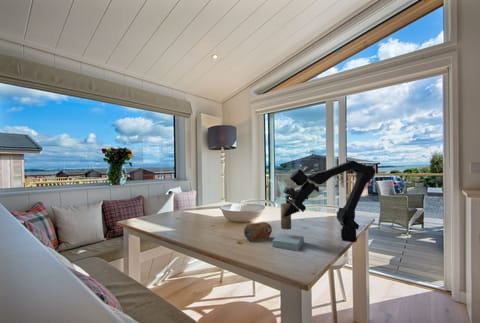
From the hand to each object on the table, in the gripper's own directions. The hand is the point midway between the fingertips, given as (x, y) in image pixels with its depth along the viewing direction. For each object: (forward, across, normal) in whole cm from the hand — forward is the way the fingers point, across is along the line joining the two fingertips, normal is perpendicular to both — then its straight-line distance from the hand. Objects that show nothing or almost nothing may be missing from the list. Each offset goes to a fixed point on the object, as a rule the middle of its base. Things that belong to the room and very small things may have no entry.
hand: (283, 214), depth 116 cm
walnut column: (+4, 0, +6) cm, 7 cm away
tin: (+18, -6, +1) cm, 20 cm away
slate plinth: (+9, +4, +10) cm, 14 cm away
